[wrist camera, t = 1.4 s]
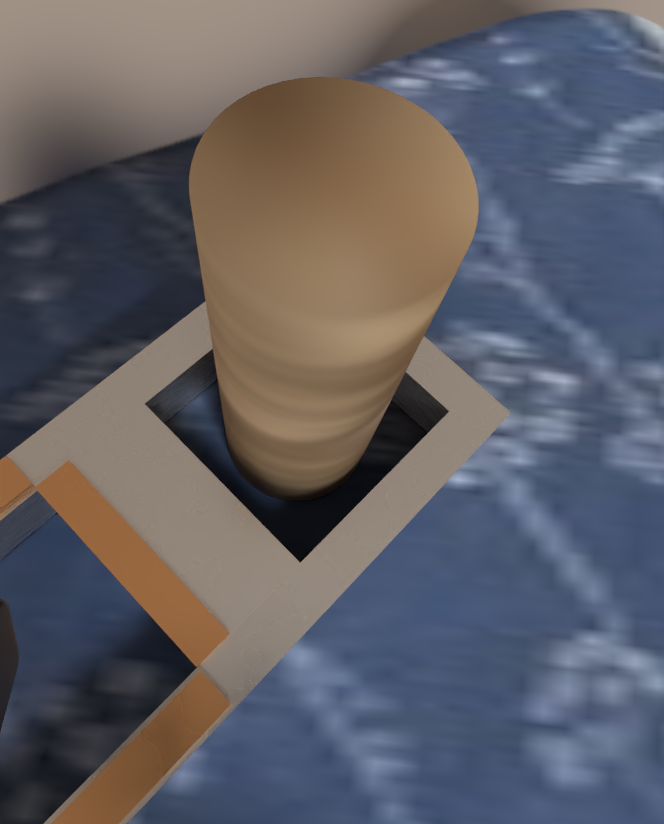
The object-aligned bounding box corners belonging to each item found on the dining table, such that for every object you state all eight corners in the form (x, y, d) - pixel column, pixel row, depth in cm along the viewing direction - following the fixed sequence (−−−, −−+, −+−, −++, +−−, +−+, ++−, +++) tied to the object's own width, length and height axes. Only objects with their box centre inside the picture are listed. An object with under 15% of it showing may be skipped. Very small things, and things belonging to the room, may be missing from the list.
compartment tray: (0, 956, 17) (-48, 1010, 14) (-211, 673, 19) (-288, 675, 16) (486, 436, 24) (514, 409, 21) (297, 266, 26) (302, 221, 23)
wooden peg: (295, 530, 22) (341, 373, 10) (197, 431, 23) (125, 173, 11) (392, 435, 23) (534, 197, 11) (297, 345, 24) (334, 37, 12)
